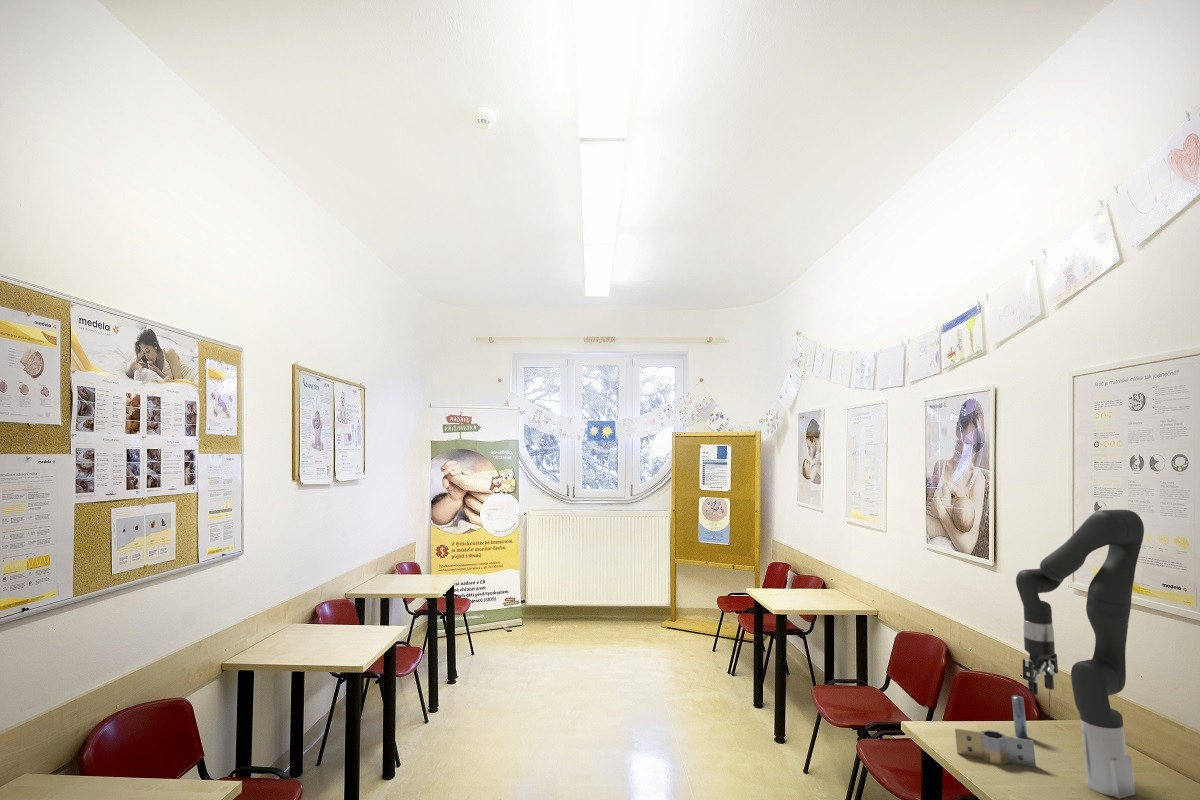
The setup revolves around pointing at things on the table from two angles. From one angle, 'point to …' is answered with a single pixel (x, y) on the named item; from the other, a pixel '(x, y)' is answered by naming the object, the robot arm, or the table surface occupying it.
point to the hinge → (995, 747)
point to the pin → (1019, 717)
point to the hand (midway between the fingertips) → (1041, 691)
